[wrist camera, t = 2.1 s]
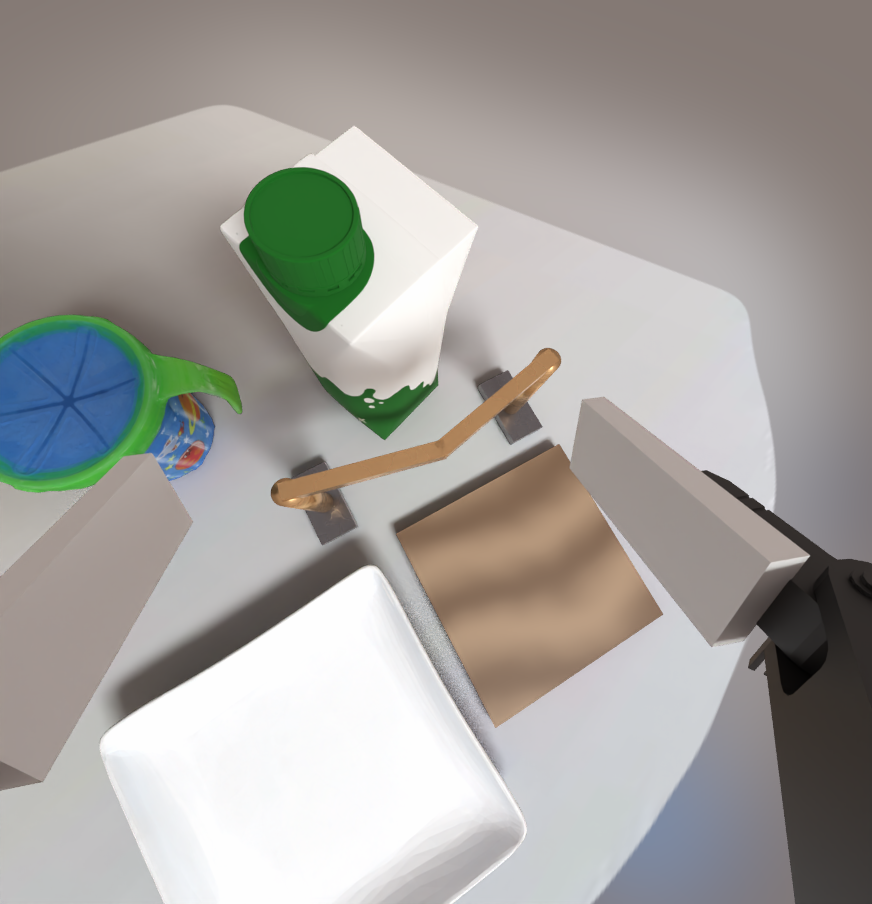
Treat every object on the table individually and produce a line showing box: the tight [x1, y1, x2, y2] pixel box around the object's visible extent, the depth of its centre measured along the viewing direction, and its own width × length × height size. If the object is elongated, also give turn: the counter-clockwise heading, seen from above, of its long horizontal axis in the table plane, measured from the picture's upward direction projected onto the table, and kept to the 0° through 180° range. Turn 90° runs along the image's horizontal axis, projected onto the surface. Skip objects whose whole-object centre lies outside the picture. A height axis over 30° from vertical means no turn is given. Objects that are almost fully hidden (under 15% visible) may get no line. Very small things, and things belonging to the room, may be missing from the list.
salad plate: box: [99, 565, 527, 904], centre depth 25 cm, size 21×21×3 cm
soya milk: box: [220, 126, 478, 440], centre depth 23 cm, size 9×9×20 cm
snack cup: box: [0, 315, 242, 492], centre depth 25 cm, size 16×10×10 cm
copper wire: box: [271, 348, 561, 545], centre depth 26 cm, size 6×21×10 cm, turn 119°
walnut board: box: [396, 444, 663, 728], centre depth 30 cm, size 16×16×1 cm
